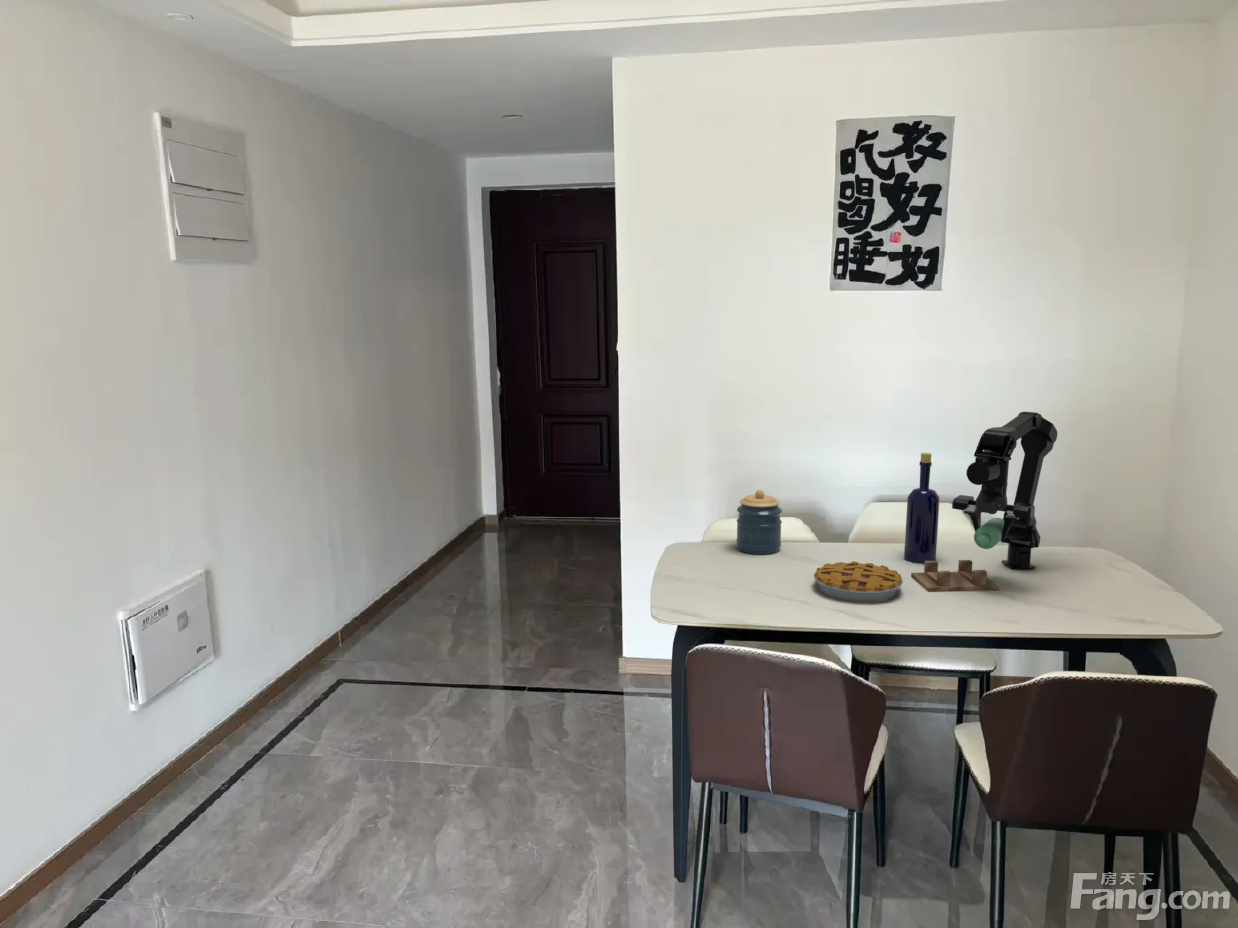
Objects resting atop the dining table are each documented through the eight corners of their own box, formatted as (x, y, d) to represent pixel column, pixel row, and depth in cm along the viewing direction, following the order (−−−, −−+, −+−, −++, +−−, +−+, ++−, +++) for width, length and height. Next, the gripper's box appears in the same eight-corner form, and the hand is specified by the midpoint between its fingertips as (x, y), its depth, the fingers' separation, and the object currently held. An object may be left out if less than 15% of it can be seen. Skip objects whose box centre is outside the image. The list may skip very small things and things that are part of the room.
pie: (900, 579, 231) (901, 561, 230) (904, 608, 210) (905, 588, 209) (815, 573, 237) (815, 555, 236) (810, 600, 216) (811, 581, 215)
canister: (787, 546, 261) (789, 488, 258) (770, 557, 250) (772, 496, 247) (747, 540, 268) (748, 483, 265) (728, 551, 257) (729, 491, 254)
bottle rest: (928, 591, 221) (929, 574, 220) (911, 576, 233) (912, 559, 232) (999, 589, 222) (1000, 572, 221) (978, 574, 234) (979, 558, 233)
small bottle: (984, 536, 233) (987, 515, 232) (1007, 540, 230) (1009, 519, 229) (968, 550, 220) (970, 528, 219) (992, 554, 217) (994, 532, 216)
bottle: (942, 563, 243) (949, 456, 238) (908, 563, 244) (914, 456, 238) (931, 554, 252) (937, 450, 247) (898, 554, 253) (904, 450, 247)
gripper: (947, 480, 222) (943, 540, 225) (1027, 489, 211) (1022, 552, 214) (960, 473, 231) (956, 531, 234) (1037, 481, 220) (1032, 542, 223)
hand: (990, 539), depth 226 cm, fingers closed on small bottle, 6 cm apart
